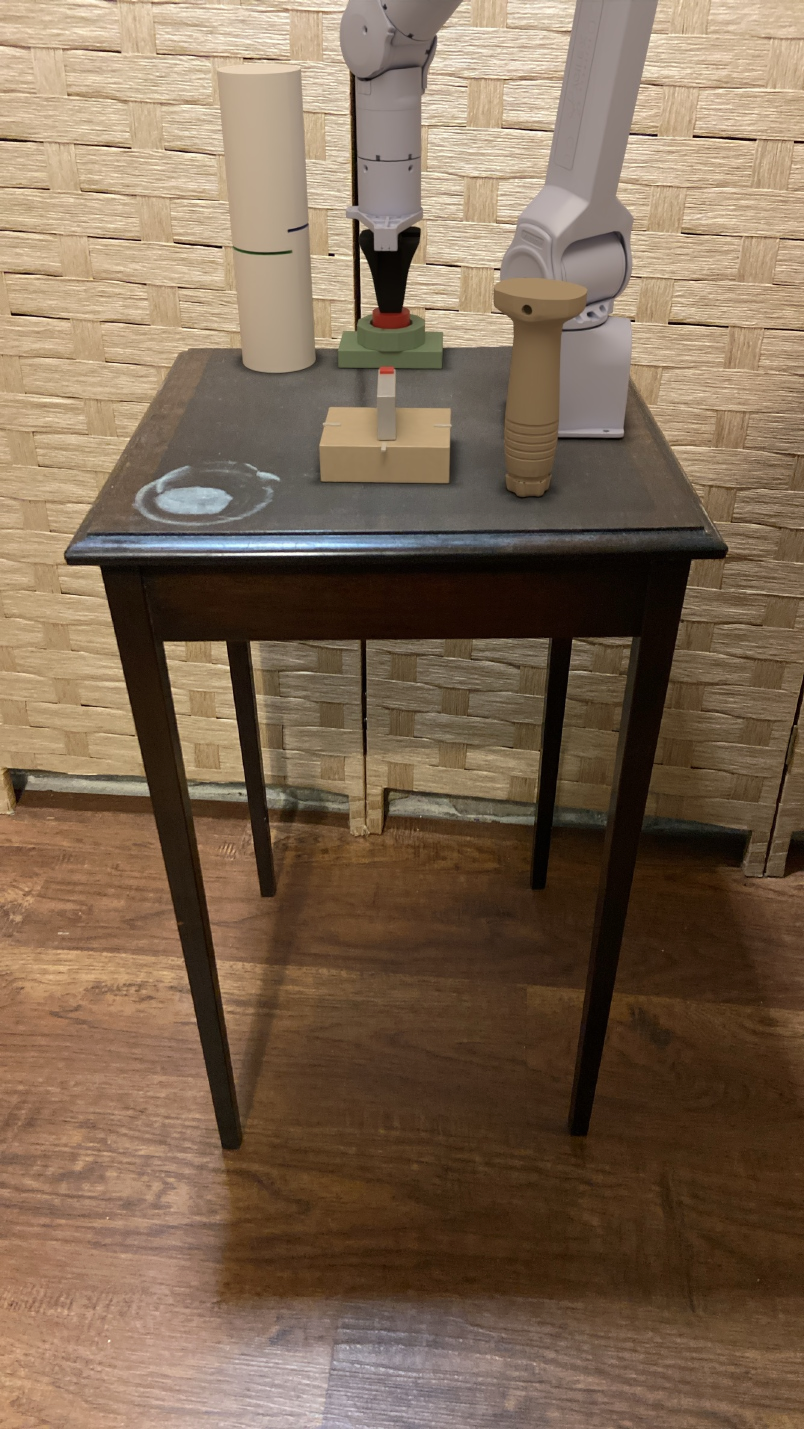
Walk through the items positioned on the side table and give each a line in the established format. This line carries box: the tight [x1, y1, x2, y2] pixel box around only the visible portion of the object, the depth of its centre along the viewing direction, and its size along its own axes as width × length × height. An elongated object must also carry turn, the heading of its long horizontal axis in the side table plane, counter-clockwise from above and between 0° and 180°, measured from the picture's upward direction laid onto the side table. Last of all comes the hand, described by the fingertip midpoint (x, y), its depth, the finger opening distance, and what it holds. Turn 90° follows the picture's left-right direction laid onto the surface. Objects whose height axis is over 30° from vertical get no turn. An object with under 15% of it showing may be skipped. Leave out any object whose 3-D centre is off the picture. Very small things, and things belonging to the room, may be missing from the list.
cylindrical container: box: [216, 63, 317, 374], centre depth 103 cm, size 7×7×25 cm
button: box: [371, 306, 411, 329], centre depth 109 cm, size 4×4×2 cm
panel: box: [318, 406, 453, 484], centre depth 90 cm, size 10×10×3 cm
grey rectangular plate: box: [376, 367, 397, 440], centre depth 88 cm, size 6×1×4 cm, turn 0°
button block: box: [337, 313, 444, 370], centre depth 110 cm, size 10×6×4 cm, turn 87°
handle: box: [492, 278, 587, 498], centre depth 82 cm, size 5×6×15 cm
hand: (390, 311), depth 108 cm, fingers closed, pressing on button
